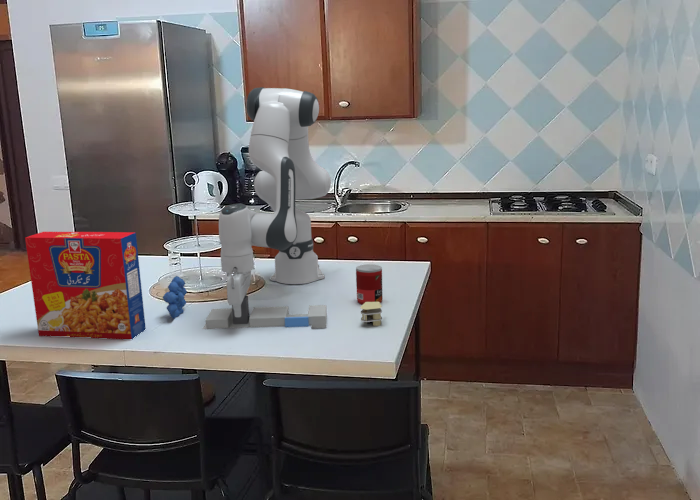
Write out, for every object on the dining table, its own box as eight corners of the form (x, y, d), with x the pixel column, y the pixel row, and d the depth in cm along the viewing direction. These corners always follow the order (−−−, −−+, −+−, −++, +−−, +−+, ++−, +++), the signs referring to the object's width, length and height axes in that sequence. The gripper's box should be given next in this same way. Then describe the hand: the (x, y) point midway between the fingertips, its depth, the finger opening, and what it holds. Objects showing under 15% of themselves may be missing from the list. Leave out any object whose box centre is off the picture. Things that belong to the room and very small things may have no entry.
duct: (209, 320, 200) (208, 309, 200) (326, 316, 201) (326, 305, 200) (202, 333, 190) (201, 321, 189) (326, 329, 190) (325, 316, 189)
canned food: (380, 305, 209) (379, 270, 207) (354, 305, 211) (353, 270, 208) (384, 298, 216) (383, 264, 214) (359, 297, 218) (358, 263, 215)
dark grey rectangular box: (235, 319, 197) (233, 296, 196) (249, 319, 197) (247, 295, 196) (233, 324, 194) (231, 300, 192) (247, 323, 194) (245, 299, 192)
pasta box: (38, 336, 192) (25, 237, 186) (56, 326, 200) (43, 231, 194) (131, 339, 187) (120, 238, 180) (145, 329, 194) (135, 232, 188)
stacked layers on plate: (356, 318, 199) (355, 300, 198) (387, 318, 199) (386, 299, 197) (355, 330, 189) (354, 311, 188) (388, 330, 189) (387, 310, 188)
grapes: (171, 310, 211) (167, 272, 209) (192, 310, 211) (189, 272, 208) (156, 322, 200) (153, 282, 197) (179, 323, 199) (175, 282, 197)
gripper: (243, 272, 182) (247, 322, 185) (253, 254, 201) (256, 300, 205) (219, 273, 181) (223, 323, 185) (231, 255, 201) (234, 300, 205)
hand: (240, 311), depth 195 cm, fingers open, 8 cm apart
